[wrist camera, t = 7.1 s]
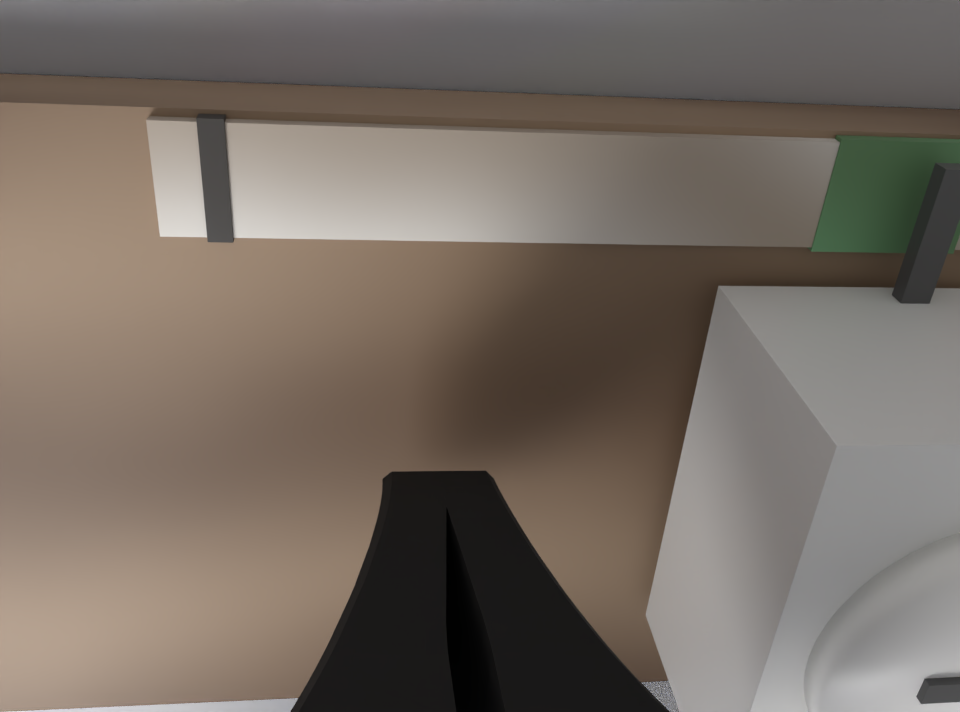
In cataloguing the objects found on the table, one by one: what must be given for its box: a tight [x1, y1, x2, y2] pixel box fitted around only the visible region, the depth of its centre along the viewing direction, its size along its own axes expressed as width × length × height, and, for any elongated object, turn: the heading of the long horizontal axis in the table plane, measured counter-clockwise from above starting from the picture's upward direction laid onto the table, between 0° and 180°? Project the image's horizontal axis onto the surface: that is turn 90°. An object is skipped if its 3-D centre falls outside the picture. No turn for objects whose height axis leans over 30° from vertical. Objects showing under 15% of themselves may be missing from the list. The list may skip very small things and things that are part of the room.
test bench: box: [0, 73, 960, 712], centre depth 12 cm, size 10×26×7 cm, turn 86°
